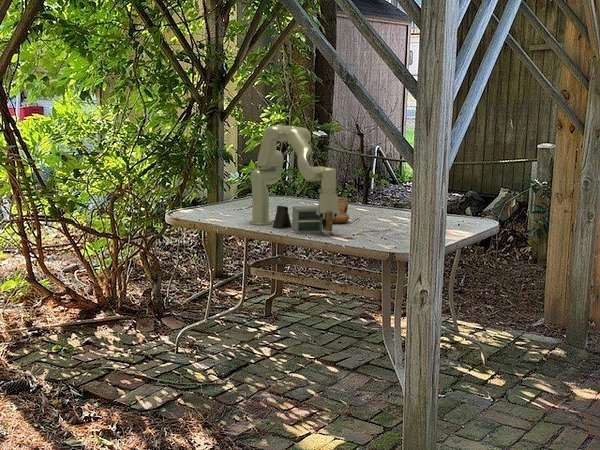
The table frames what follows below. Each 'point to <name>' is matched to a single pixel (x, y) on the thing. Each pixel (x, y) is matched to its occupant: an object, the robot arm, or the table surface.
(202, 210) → the table surface
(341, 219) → the ceramic jug
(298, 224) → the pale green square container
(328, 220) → the tan rectangular block
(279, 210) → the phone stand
